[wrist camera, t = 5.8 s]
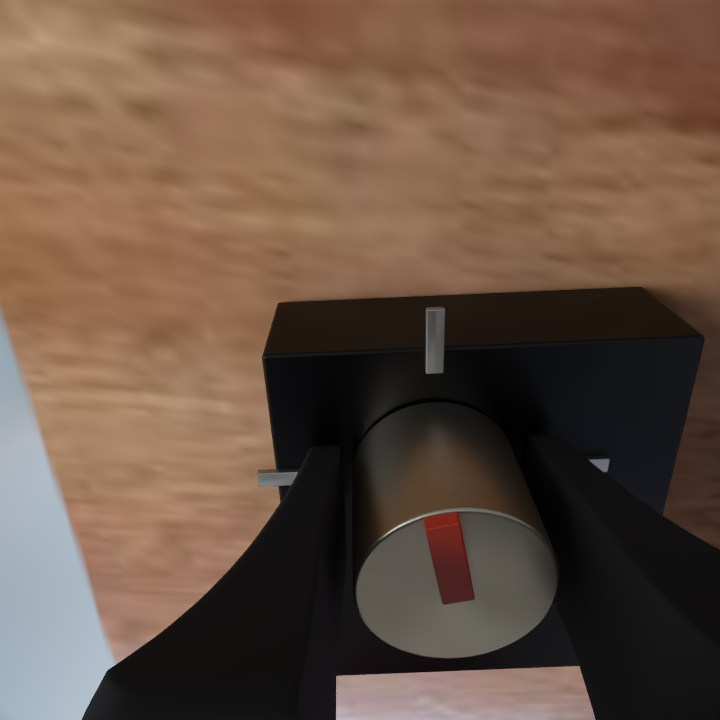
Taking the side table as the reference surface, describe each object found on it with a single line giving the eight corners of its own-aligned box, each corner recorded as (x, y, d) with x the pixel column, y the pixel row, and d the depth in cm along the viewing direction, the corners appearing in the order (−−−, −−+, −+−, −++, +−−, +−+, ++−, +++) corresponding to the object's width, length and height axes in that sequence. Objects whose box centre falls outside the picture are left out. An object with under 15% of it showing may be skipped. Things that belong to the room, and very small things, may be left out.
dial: (520, 516, 14) (573, 657, 11) (370, 543, 14) (376, 688, 11) (503, 385, 12) (558, 504, 9) (335, 419, 13) (329, 546, 9)
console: (589, 580, 19) (630, 670, 16) (296, 592, 19) (288, 684, 16) (648, 250, 14) (722, 297, 12) (256, 267, 14) (234, 318, 12)
